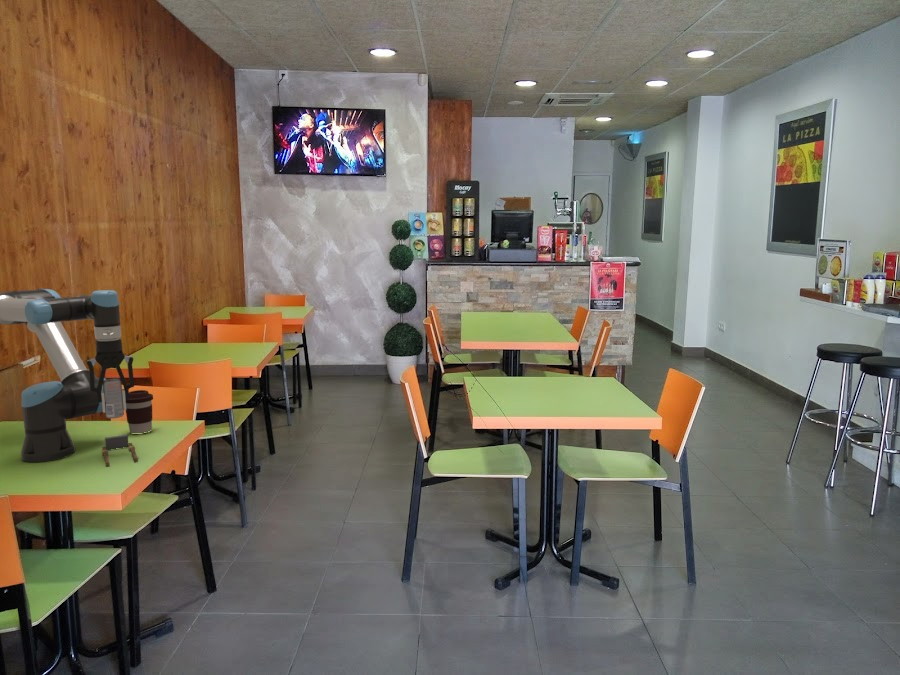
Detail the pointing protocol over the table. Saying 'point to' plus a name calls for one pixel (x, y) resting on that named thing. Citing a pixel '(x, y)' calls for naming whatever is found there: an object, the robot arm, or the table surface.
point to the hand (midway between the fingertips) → (114, 410)
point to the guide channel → (131, 449)
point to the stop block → (116, 442)
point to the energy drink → (113, 398)
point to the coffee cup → (139, 411)
